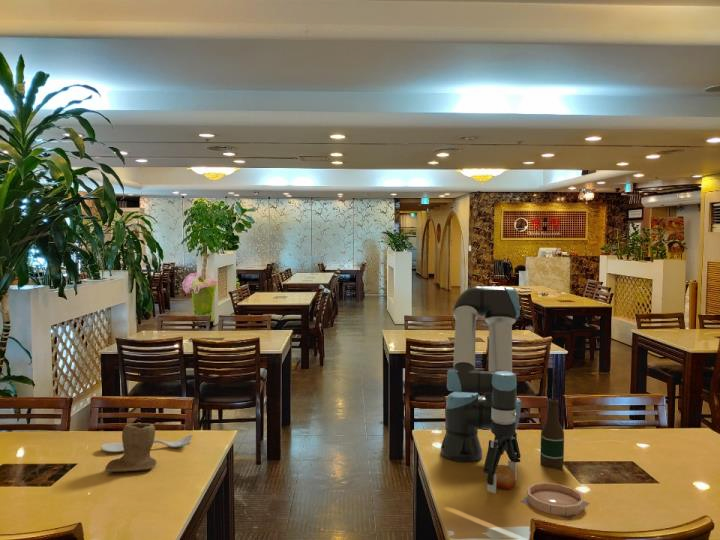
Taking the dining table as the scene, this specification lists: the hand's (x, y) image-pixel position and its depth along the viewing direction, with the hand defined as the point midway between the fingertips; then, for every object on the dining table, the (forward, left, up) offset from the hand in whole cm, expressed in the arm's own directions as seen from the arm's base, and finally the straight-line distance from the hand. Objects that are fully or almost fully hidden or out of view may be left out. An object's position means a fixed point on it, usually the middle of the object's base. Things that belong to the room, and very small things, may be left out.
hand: (502, 487), depth 166 cm
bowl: (+17, +1, +1) cm, 17 cm away
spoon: (-111, -66, -1) cm, 129 cm away
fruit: (0, 0, 0) cm, 0 cm away
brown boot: (-97, -77, 0) cm, 124 cm away
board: (+17, +1, 0) cm, 17 cm away
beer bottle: (+4, +28, 0) cm, 28 cm away
